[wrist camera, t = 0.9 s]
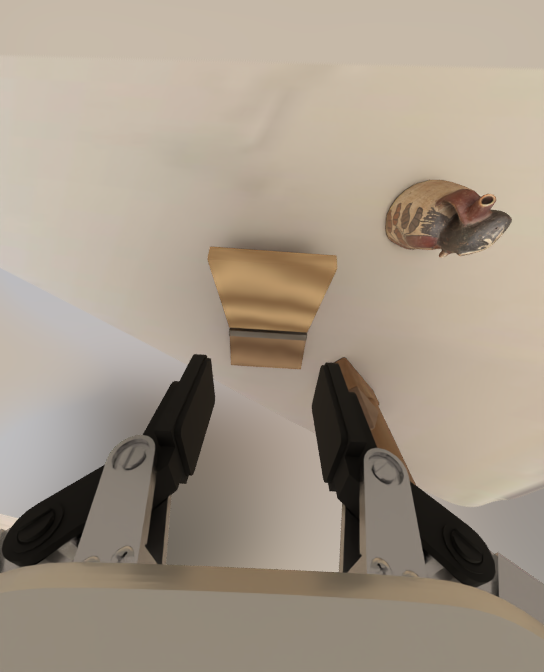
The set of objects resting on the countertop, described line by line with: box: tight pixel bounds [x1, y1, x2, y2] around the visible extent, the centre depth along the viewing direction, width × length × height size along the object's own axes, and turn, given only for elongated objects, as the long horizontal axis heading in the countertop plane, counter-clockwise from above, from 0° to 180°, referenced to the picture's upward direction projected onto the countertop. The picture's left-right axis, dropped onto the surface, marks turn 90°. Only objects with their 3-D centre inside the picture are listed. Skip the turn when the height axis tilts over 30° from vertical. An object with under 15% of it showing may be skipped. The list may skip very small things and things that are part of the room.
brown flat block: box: [229, 327, 307, 369], centre depth 37 cm, size 7×12×2 cm, turn 86°
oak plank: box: [208, 247, 337, 332], centre depth 28 cm, size 15×12×2 cm
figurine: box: [386, 180, 512, 257], centre depth 22 cm, size 7×7×12 cm
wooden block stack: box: [335, 358, 416, 485], centre depth 34 cm, size 4×11×18 cm, turn 40°
